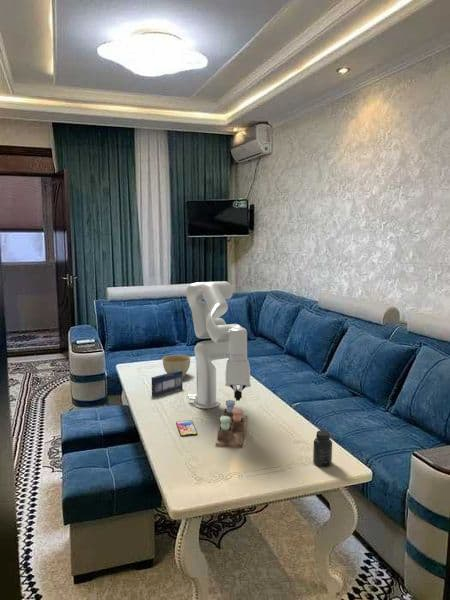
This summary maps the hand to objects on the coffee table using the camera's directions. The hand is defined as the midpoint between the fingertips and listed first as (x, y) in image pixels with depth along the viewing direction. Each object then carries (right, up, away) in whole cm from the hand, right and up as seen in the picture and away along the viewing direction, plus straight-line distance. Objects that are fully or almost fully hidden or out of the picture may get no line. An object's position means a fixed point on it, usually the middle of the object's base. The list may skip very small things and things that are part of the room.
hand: (238, 399), depth 202 cm
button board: (-2, -14, +3) cm, 15 cm away
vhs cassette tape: (-36, -7, +50) cm, 62 cm away
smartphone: (-22, -14, +6) cm, 27 cm away
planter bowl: (-33, -3, +76) cm, 83 cm away
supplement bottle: (+31, -19, -24) cm, 43 cm away
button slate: (-3, -9, +12) cm, 15 cm away
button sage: (-5, -12, -6) cm, 15 cm away
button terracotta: (0, -11, +2) cm, 11 cm away
